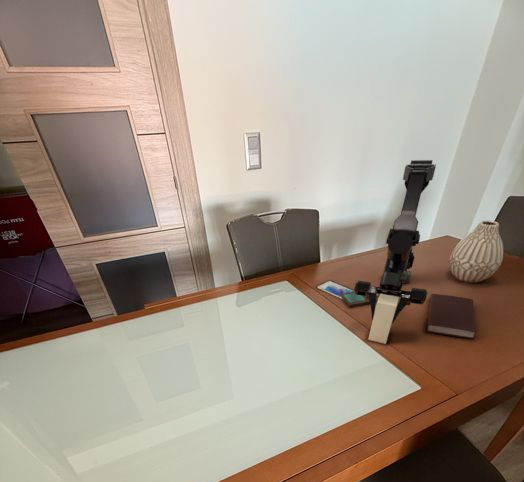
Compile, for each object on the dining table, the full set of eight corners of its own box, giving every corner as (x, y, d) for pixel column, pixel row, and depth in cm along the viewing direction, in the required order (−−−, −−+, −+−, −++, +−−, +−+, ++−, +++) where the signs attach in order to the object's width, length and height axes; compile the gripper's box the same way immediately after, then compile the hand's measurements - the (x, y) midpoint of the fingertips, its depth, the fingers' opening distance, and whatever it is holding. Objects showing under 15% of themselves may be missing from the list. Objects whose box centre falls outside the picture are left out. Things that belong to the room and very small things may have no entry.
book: (424, 331, 91) (428, 323, 89) (428, 300, 104) (431, 291, 102) (473, 340, 86) (477, 331, 84) (470, 306, 99) (474, 298, 97)
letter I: (371, 330, 93) (380, 293, 85) (388, 334, 91) (399, 296, 83) (368, 339, 90) (377, 302, 81) (385, 343, 88) (396, 306, 80)
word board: (383, 288, 112) (383, 284, 111) (394, 299, 106) (395, 294, 105) (340, 296, 110) (340, 292, 109) (349, 307, 104) (350, 303, 103)
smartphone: (329, 280, 120) (360, 293, 110) (329, 282, 120) (360, 295, 111) (316, 286, 116) (348, 300, 107) (316, 288, 117) (347, 302, 107)
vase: (467, 265, 121) (488, 212, 109) (503, 282, 110) (530, 225, 97) (434, 273, 118) (451, 220, 106) (467, 291, 107) (490, 234, 94)
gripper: (360, 253, 82) (346, 309, 81) (437, 261, 75) (422, 322, 75) (361, 268, 92) (349, 318, 92) (429, 276, 85) (416, 329, 85)
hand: (382, 321), depth 85 cm, fingers closed on letter I, 5 cm apart
